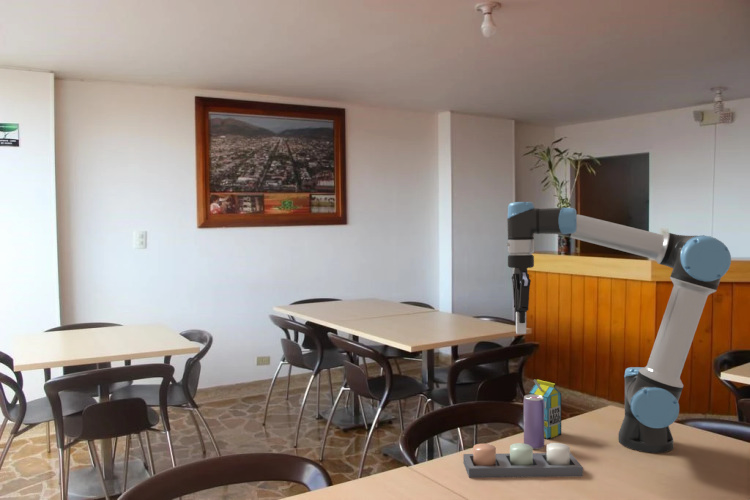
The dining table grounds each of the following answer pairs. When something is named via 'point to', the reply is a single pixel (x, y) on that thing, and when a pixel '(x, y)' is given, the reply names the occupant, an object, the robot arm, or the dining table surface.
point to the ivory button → (558, 454)
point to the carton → (549, 407)
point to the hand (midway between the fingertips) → (521, 333)
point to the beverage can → (534, 421)
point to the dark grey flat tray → (522, 468)
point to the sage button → (521, 454)
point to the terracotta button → (484, 455)
